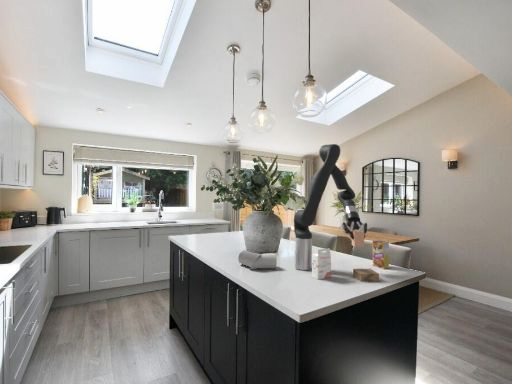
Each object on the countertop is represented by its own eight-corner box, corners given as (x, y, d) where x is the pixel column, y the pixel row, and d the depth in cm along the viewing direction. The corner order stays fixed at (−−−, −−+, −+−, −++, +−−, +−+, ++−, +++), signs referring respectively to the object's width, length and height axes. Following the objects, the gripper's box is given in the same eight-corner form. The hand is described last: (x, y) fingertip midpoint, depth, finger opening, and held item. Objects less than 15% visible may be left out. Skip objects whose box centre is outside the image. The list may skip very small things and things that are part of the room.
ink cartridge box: (324, 274, 137) (324, 246, 137) (331, 277, 132) (331, 248, 133) (311, 276, 133) (311, 247, 133) (318, 279, 128) (318, 249, 129)
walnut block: (361, 282, 126) (361, 273, 127) (353, 276, 135) (353, 268, 136) (379, 282, 127) (379, 273, 127) (370, 276, 136) (370, 268, 136)
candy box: (372, 265, 158) (372, 239, 158) (377, 264, 159) (377, 239, 159) (383, 269, 149) (383, 242, 150) (389, 268, 151) (389, 242, 151)
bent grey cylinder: (241, 270, 139) (277, 268, 143) (240, 249, 142) (276, 249, 145) (237, 268, 156) (270, 267, 160) (237, 250, 159) (269, 250, 162)
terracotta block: (354, 246, 141) (354, 231, 141) (351, 245, 146) (351, 230, 146) (364, 246, 141) (364, 232, 141) (360, 245, 146) (360, 230, 146)
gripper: (340, 210, 153) (346, 234, 141) (365, 211, 152) (373, 234, 140) (338, 219, 158) (343, 242, 146) (362, 219, 157) (370, 243, 145)
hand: (358, 238), depth 143 cm, fingers closed on terracotta block, 5 cm apart
